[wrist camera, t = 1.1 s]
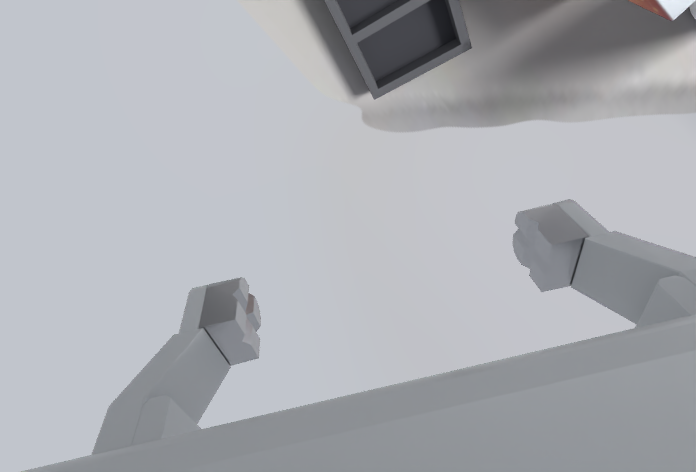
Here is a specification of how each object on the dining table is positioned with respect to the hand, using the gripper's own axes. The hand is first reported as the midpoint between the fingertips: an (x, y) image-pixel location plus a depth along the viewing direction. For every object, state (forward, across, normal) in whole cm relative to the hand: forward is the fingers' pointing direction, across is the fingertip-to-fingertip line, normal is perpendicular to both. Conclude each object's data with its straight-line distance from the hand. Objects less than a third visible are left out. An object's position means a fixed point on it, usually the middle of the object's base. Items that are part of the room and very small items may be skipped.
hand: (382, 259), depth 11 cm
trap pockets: (+30, -8, -1) cm, 31 cm away
